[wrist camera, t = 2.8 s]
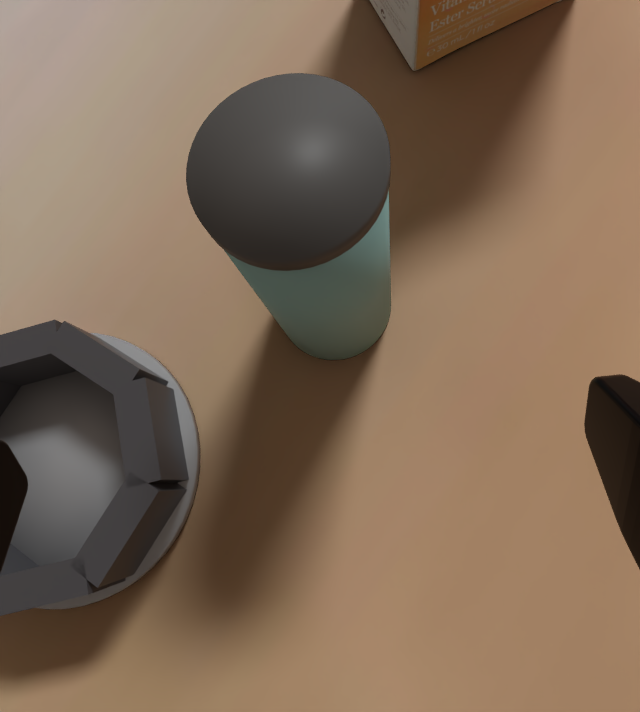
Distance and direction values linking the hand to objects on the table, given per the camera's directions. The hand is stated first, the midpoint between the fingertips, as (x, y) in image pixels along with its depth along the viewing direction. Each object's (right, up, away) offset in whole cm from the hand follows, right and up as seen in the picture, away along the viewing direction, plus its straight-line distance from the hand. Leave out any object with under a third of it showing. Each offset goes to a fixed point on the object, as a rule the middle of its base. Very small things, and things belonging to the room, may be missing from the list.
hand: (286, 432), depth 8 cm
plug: (+1, +3, +13) cm, 14 cm away
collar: (-9, -3, +13) cm, 16 cm away
